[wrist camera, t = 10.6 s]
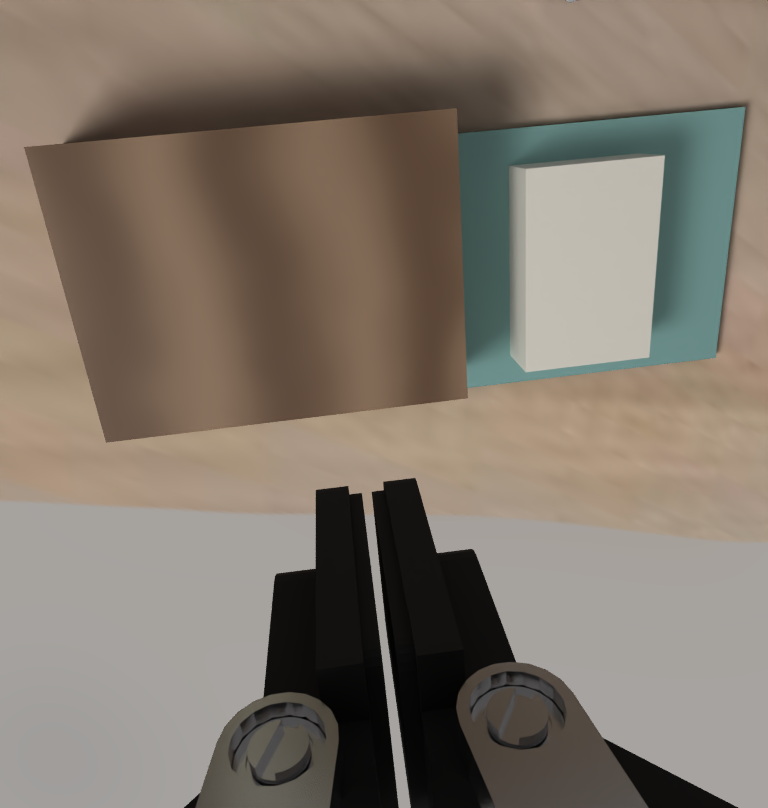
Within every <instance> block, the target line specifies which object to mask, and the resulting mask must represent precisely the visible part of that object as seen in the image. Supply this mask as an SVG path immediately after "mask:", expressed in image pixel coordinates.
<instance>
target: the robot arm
mask: <svg viewBox="0 0 768 808" xmlns="http://www.w3.org/2000/svg"><path fill="white" fill-rule="evenodd" d="M383 484H384V490H383V491H375V492H372V498H373V508H374V517H375V526H376V536H377V545H378V555H379V565H380V574H381V584H382V593H383V603H384V612H385V622H386V630H387V638H388V645H389V653H390V660H391V667H392V674H393V681H394V689H395V696H396V703H397V711H398V717H399V725H400V732H401V739H402V747H403V753H404V761H405V768H406V776H407V782H408V789H409V797H410V804H411V808H738V807H735V806H734V805H732V804H730V803H728V802H726V801H724V800H722V799H720V798H718V797H716V796H714V795H712V794H711V793H709V792H707V791H704V790H703V789H701V788H699V787H697V786H695V785H693V784H691V783H689V782H687V781H685V780H683V779H681V778H679V777H678V776H676V775H674V774H672V773H670V772H668V771H666V770H664V769H662V768H660V767H658V766H656V765H654V764H652V763H650V762H648V761H647V760H645V759H643V758H641V757H639V756H637V755H635V754H633V753H631V752H629V751H627V750H625V749H623V748H621V747H619V746H617V745H615V744H613V743H611V742H610V741H608V740H606V739H604V738H602V736H601V735H600V733H599V732H598V730H597V729H596V727H595V726H594V724H593V723H592V721H591V720H590V718H589V716H588V715H587V713H586V712H585V710H584V709H583V707H582V706H581V704H580V703H579V701H578V700H577V698H576V697H575V695H574V694H573V692H572V691H571V690H570V689H569V688H568V687H567V686H566V684H565V683H564V682H563V681H562V680H561V679H560V678H558V677H556V676H555V675H553V674H552V673H550V672H548V671H547V670H545V669H542V668H540V667H537V666H534V665H531V664H526V663H517V662H516V661H515V658H514V655H513V653H512V650H511V647H510V645H509V642H508V639H507V637H506V634H505V631H504V628H503V626H502V623H501V620H500V618H499V615H498V612H497V610H496V607H495V604H494V602H493V599H492V596H491V594H490V591H489V589H488V586H487V583H486V580H485V577H484V575H483V572H482V570H481V567H480V564H479V561H478V559H477V556H476V554H475V552H474V550H472V549H468V550H460V551H452V552H445V553H437V552H436V549H435V545H434V542H433V538H432V535H431V531H430V527H429V524H428V520H427V517H426V513H425V510H424V506H423V503H422V499H421V495H420V492H419V488H418V485H417V481H416V478H412V479H403V480H395V481H387V482H384V483H383ZM184 808H399V807H398V798H397V789H396V780H395V771H394V762H393V753H392V745H391V735H390V726H389V717H388V708H387V699H386V690H385V681H384V672H383V663H382V655H381V646H380V638H379V630H378V622H377V614H376V605H375V598H374V589H373V582H372V573H371V565H370V557H369V549H368V541H367V532H366V524H365V516H364V508H363V500H362V493H359V494H350V495H349V489H348V486H345V487H337V488H329V489H321V490H316V569H310V570H302V571H295V572H287V573H279V574H276V576H275V581H274V592H273V601H272V613H271V623H270V634H269V644H268V656H267V666H266V677H265V688H264V698H261V699H259V700H256V701H254V702H252V703H251V704H249V705H248V706H247V707H245V708H243V709H242V710H240V711H239V712H238V713H237V714H236V715H235V716H234V717H233V718H232V719H231V720H230V721H229V722H228V724H227V725H226V726H225V727H224V729H223V731H222V734H221V735H220V738H219V739H218V741H217V744H216V747H215V750H214V753H213V756H212V759H211V762H210V765H209V768H208V771H207V774H206V777H205V780H204V783H203V786H202V789H201V792H200V794H198V795H197V796H196V797H195V798H194V799H193V800H192V801H191V802H190V803H189V804H188V805H186V806H185V807H184Z"/></svg>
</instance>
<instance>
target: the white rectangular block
mask: <svg viewBox="0 0 768 808" xmlns="http://www.w3.org/2000/svg"><path fill="white" fill-rule="evenodd" d="M664 160H665V155H653V154H640V153H636V154H625V155H615V156H605V157H595V158H584V159H574V160H564V161H553V162H543V163H533V164H523V165H512V166H509V266H510V356H511V357H512V358H513V359H514V360H515V361H516V362H517V363H518V364H519V365H520V367H521V368H522V369H523V370H524V371H525V372H532V371H541V370H549V369H557V368H566V367H574V366H582V365H591V364H599V363H607V362H616V361H624V360H632V359H640V358H649V354H650V341H651V328H652V315H653V302H654V289H655V277H656V264H657V251H658V238H659V225H660V212H661V199H662V186H663V173H664Z"/></svg>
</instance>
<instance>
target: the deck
mask: <svg viewBox="0 0 768 808" xmlns="http://www.w3.org/2000/svg"><path fill="white" fill-rule="evenodd" d="M24 148H25V152H26V155H27V159H28V162H29V166H30V170H31V173H32V177H33V180H34V184H35V188H36V191H37V195H38V198H39V202H40V206H41V209H42V213H43V216H44V220H45V224H46V227H47V231H48V235H49V238H50V242H51V245H52V249H53V253H54V256H55V260H56V263H57V267H58V271H59V274H60V278H61V281H62V285H63V289H64V292H65V296H66V299H67V303H68V307H69V310H70V314H71V317H72V321H73V325H74V328H75V332H76V335H77V339H78V343H79V346H80V350H81V353H82V357H83V361H84V364H85V368H86V372H87V375H88V379H89V382H90V386H91V390H92V393H93V397H94V400H95V404H96V408H97V411H98V415H99V418H100V422H101V426H102V429H103V433H104V436H105V440H106V442H114V441H122V440H131V439H139V438H147V437H155V436H163V435H171V434H179V433H188V432H196V431H204V430H212V429H220V428H228V427H237V426H245V425H253V424H261V423H269V422H277V421H285V420H294V419H302V418H310V417H318V416H326V415H334V414H343V413H351V412H359V411H367V410H375V409H383V408H391V407H400V406H408V405H416V404H424V403H432V402H440V401H449V400H457V399H465V398H468V392H467V365H466V338H465V311H464V285H463V258H462V231H461V204H460V177H459V151H458V124H457V108H452V109H441V110H430V111H419V112H408V113H397V114H386V115H375V116H364V117H353V118H342V119H331V120H320V121H309V122H298V123H287V124H276V125H265V126H253V127H242V128H231V129H220V130H209V131H198V132H187V133H176V134H165V135H154V136H143V137H132V138H121V139H110V140H99V141H88V142H77V143H66V144H55V145H44V146H33V147H24Z"/></svg>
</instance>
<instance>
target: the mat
mask: <svg viewBox="0 0 768 808" xmlns="http://www.w3.org/2000/svg"><path fill="white" fill-rule="evenodd" d="M744 115H745V107H736V108H725V109H714V110H704V111H693V112H682V113H672V114H661V115H650V116H640V117H629V118H618V119H608V120H597V121H586V122H575V123H565V124H554V125H543V126H533V127H522V128H511V129H501V130H490V131H479V132H469V133H458V151H459V177H460V204H461V231H462V258H463V285H464V311H465V338H466V365H467V388H471V387H479V386H487V385H496V384H504V383H512V382H520V381H528V380H537V379H545V378H553V377H561V376H570V375H578V374H586V373H594V372H603V371H611V370H619V369H627V368H635V367H644V366H652V365H660V364H668V363H677V362H685V361H693V360H701V359H710V358H716V350H717V342H718V334H719V325H720V317H721V308H722V300H723V292H724V283H725V275H726V266H727V258H728V249H729V241H730V233H731V224H732V216H733V207H734V199H735V191H736V182H737V174H738V165H739V157H740V148H741V140H742V132H743V123H744ZM636 153H640V154H653V155H665V160H664V173H663V186H662V199H661V212H660V225H659V238H658V251H657V264H656V277H655V289H654V302H653V315H652V328H651V341H650V354H649V358H640V359H632V360H624V361H616V362H607V363H599V364H591V365H582V366H574V367H566V368H557V369H549V370H541V371H532V372H525V371H524V370H523V369H522V368H521V367H520V365H519V364H518V363H517V362H516V361H515V360H514V359H513V358H512V357H511V356H510V266H509V166H512V165H523V164H533V163H543V162H553V161H564V160H574V159H584V158H595V157H605V156H615V155H625V154H636Z"/></svg>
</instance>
